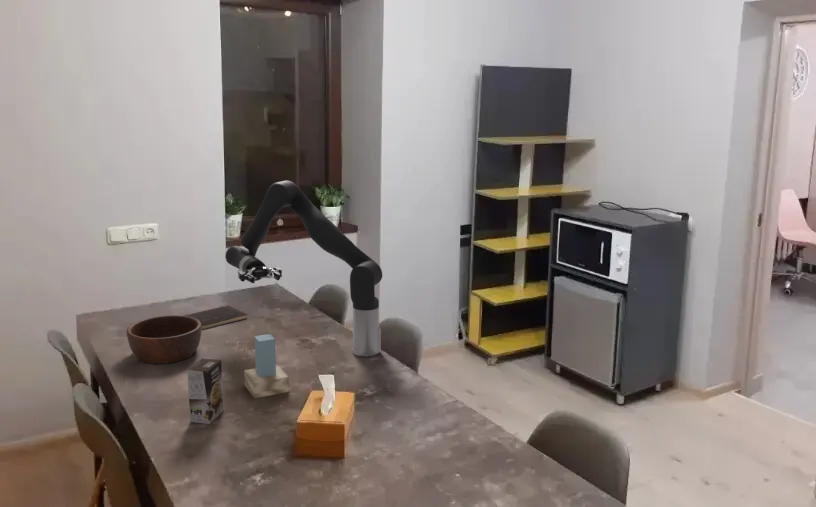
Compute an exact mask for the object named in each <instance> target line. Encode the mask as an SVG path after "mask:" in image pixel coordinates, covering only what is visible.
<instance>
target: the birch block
mask: <svg viewBox="0 0 816 507" xmlns="http://www.w3.org/2000/svg"><path fill="white" fill-rule="evenodd" d="M243 370H244V369H243ZM243 373H244V374H243V375H244V386H245V388H246V389H247V390H248V392H249V393H250V394H251V396H252V398H254V399H258V398H264V397H268V396H273V395H274V396H275V395H279V394H280V395H281V394H283V393H288V392H290V382H289V380H290V379H289V378H290V376H289V375H288V374H287V373H286V372H285V371H284V370H283V368H282V367H280V366H279V364H278V363H276V375H273V376H267V377H262V378H260V377H259V375H258V374H257V373H256V367H255V368H250V369H245V370H244V371H243Z"/></svg>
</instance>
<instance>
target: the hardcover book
mask: <svg viewBox="0 0 816 507" xmlns="http://www.w3.org/2000/svg"><path fill="white" fill-rule="evenodd" d="M183 316H188V317H192V318H195V319H197V320H199V321H200V322H201V325H202V327H201V330H204V329H208V328H209V329H210V328H213V327H217V326H220V325H224V324H227V323H232V322H236V321H240V320H245V319H247V318H248V313H245V312H244V311H241V310H239V309H237V308H234V307H233V306H230V305H228V304H227V305H224V306H220V307H215V308H212V309H206V310H203V311H197V312H194V313H189V314H185V315H183Z"/></svg>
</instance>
